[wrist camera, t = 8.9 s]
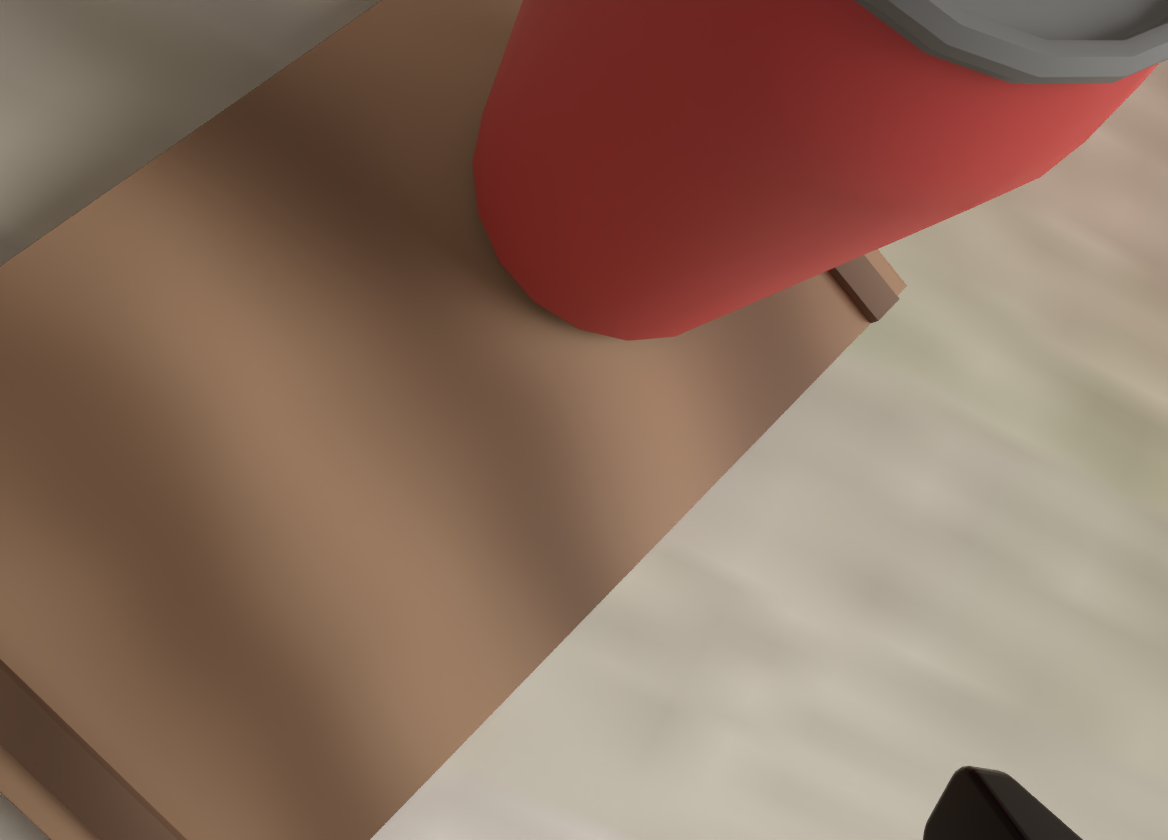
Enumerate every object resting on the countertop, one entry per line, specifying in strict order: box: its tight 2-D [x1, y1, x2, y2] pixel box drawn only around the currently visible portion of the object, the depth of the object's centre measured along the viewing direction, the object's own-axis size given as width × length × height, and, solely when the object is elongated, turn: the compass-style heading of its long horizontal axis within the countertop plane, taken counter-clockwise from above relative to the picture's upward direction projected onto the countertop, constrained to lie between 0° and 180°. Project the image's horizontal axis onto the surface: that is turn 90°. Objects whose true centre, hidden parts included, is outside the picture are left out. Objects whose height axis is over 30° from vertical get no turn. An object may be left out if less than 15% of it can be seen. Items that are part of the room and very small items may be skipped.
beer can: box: [472, 0, 1168, 341], centre depth 13 cm, size 7×7×12 cm
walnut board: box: [0, 0, 907, 840], centre depth 18 cm, size 20×12×2 cm, turn 133°
